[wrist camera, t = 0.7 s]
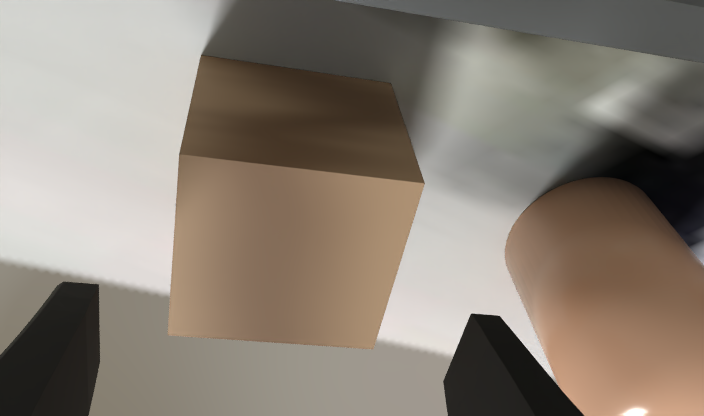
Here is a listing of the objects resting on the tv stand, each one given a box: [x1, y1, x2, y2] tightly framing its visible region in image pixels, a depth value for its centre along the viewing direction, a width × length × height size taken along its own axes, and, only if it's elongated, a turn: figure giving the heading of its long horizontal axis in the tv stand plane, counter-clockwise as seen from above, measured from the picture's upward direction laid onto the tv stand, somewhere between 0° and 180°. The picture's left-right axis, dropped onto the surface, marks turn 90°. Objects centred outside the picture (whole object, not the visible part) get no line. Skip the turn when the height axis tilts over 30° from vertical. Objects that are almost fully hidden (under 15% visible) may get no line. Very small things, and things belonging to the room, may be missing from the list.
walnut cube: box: [168, 55, 425, 349], centre depth 17 cm, size 5×5×5 cm
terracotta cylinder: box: [505, 177, 704, 416], centre depth 19 cm, size 5×5×7 cm
